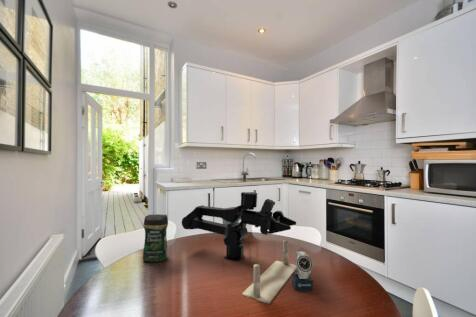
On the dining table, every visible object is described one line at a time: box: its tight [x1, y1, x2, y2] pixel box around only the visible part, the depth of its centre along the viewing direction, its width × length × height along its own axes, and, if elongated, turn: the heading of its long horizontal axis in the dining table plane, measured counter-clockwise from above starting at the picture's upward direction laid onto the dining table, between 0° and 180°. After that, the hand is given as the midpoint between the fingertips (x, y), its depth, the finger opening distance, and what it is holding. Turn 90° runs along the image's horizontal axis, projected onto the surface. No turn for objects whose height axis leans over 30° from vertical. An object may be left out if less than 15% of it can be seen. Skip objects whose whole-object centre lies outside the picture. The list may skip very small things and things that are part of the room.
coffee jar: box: [142, 213, 169, 263], centre depth 98 cm, size 10×8×19 cm
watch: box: [291, 251, 314, 291], centre depth 76 cm, size 6×8×11 cm
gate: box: [241, 239, 297, 305], centre depth 81 cm, size 9×28×10 cm, turn 149°
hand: (293, 225), depth 89 cm, fingers open, 9 cm apart
